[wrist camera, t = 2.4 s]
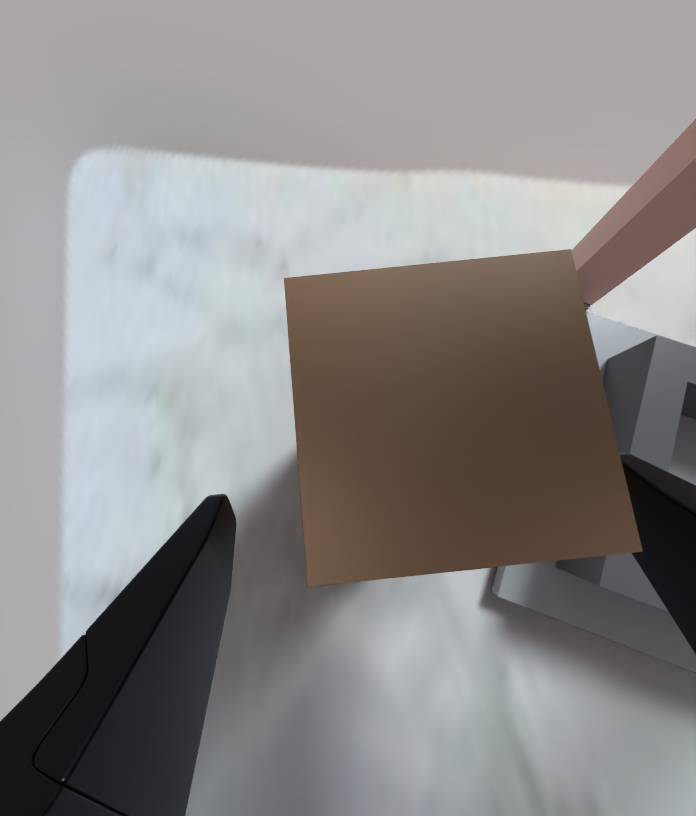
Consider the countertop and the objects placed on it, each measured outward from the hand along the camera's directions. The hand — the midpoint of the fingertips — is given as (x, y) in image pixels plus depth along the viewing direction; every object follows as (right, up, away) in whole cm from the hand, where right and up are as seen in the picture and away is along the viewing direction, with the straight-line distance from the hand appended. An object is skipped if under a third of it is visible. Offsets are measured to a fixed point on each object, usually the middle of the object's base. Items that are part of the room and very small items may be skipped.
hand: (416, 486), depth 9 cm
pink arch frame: (+15, +2, +10) cm, 18 cm away
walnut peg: (0, -1, +9) cm, 9 cm away
